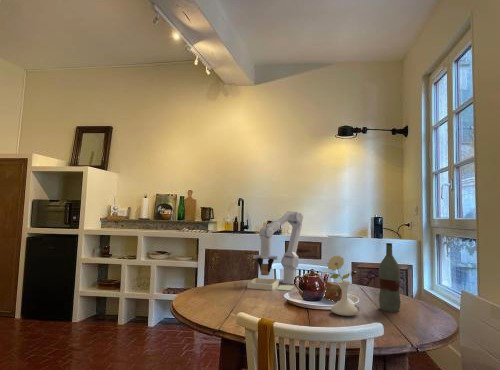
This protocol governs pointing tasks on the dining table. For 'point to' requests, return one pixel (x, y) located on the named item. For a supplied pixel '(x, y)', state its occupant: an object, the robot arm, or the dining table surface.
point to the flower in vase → (343, 305)
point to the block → (264, 269)
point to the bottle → (389, 282)
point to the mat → (285, 288)
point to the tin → (333, 292)
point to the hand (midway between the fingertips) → (265, 271)
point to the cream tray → (263, 284)
